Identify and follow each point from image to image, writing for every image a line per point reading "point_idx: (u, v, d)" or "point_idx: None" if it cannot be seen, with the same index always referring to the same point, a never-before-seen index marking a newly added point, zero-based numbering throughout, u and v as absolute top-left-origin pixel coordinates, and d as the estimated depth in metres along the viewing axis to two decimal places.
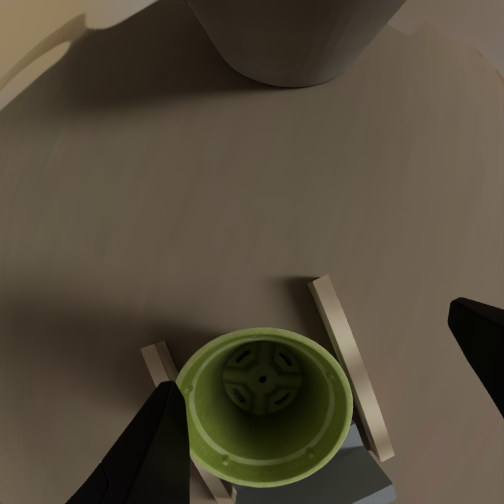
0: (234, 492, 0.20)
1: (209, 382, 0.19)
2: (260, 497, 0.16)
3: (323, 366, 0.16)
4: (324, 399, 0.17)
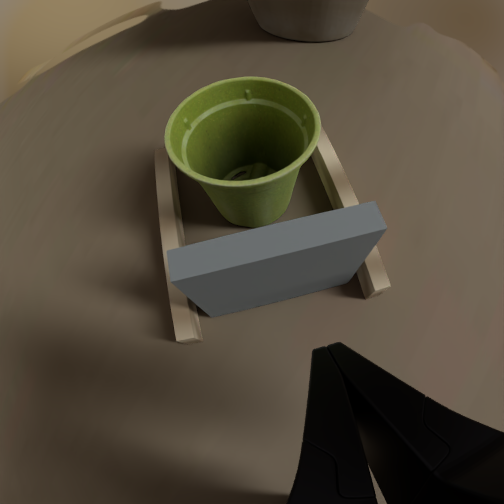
0: (195, 318, 0.21)
1: (203, 157, 0.22)
2: None
3: (299, 117, 0.19)
4: (301, 154, 0.19)
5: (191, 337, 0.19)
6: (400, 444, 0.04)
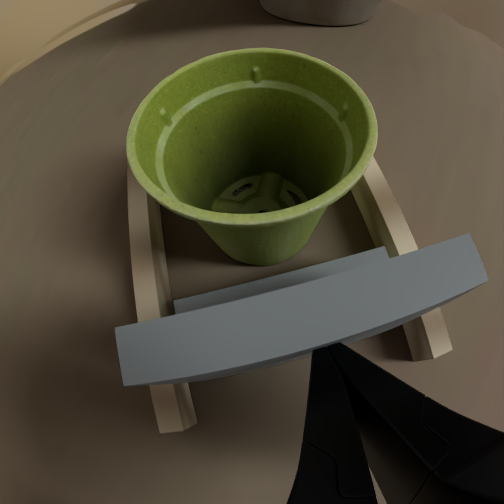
0: (185, 397, 0.14)
1: (192, 165, 0.15)
2: None
3: (334, 107, 0.12)
4: (340, 164, 0.12)
5: (180, 430, 0.12)
6: (400, 444, 0.04)
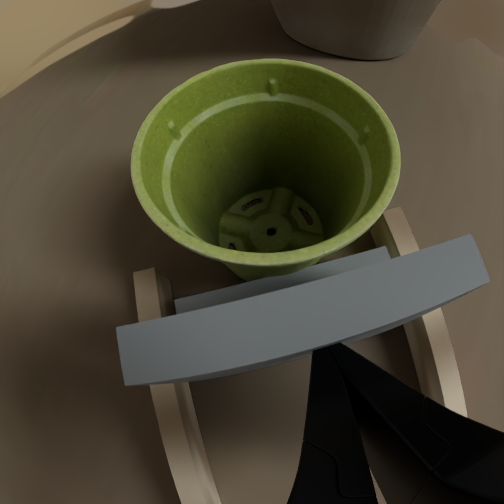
0: None
1: (201, 180, 0.15)
2: None
3: (354, 129, 0.12)
4: (357, 191, 0.12)
5: None
6: (400, 444, 0.04)
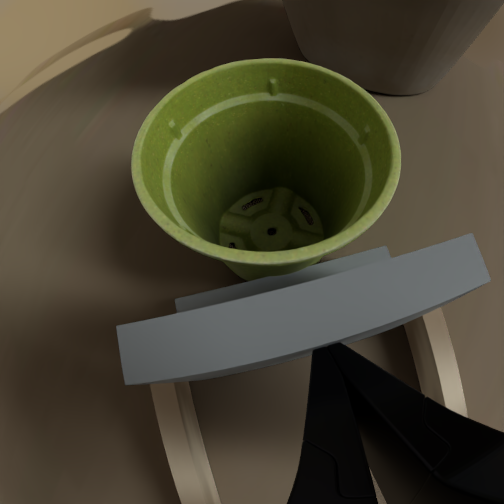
0: None
1: (201, 179, 0.15)
2: None
3: (355, 128, 0.12)
4: (357, 190, 0.12)
5: None
6: (400, 444, 0.04)
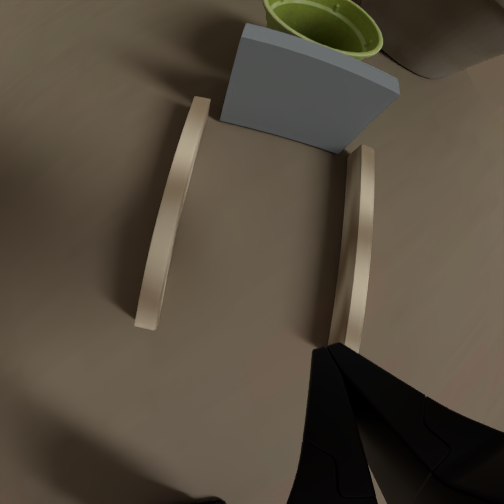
0: (160, 304, 0.19)
1: None
2: None
3: (365, 41, 0.19)
4: None
5: (151, 328, 0.17)
6: (400, 444, 0.04)
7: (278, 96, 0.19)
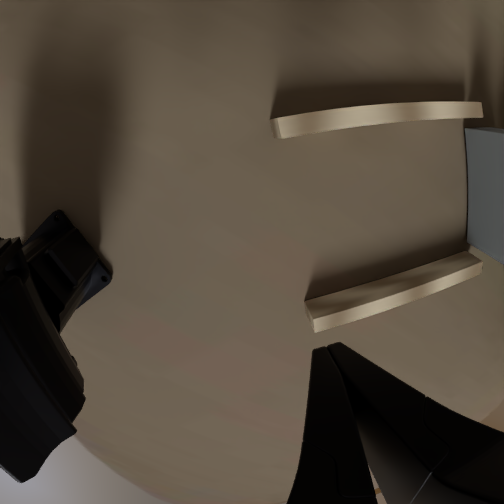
0: None
1: None
2: None
3: None
4: None
5: (281, 135, 0.16)
6: (400, 444, 0.04)
7: None
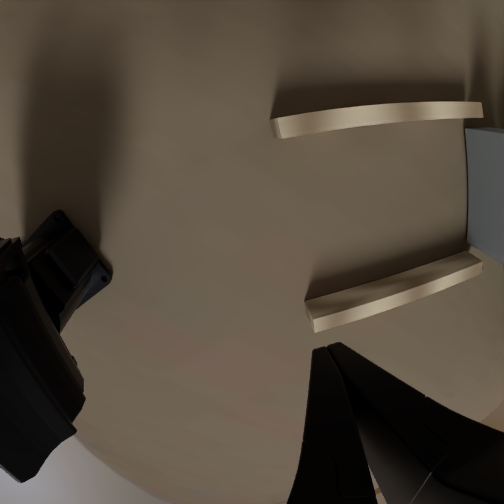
0: None
1: None
2: None
3: None
4: None
5: (281, 135, 0.16)
6: (400, 444, 0.04)
7: None
